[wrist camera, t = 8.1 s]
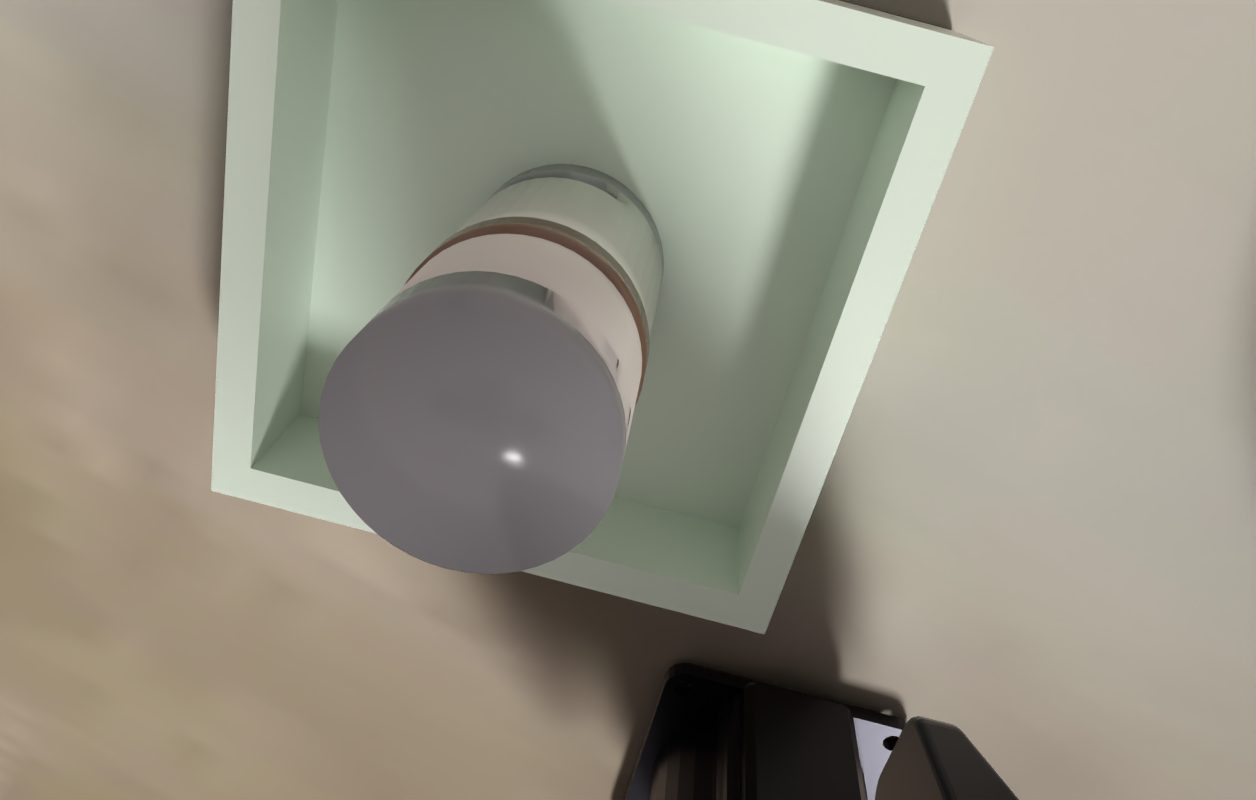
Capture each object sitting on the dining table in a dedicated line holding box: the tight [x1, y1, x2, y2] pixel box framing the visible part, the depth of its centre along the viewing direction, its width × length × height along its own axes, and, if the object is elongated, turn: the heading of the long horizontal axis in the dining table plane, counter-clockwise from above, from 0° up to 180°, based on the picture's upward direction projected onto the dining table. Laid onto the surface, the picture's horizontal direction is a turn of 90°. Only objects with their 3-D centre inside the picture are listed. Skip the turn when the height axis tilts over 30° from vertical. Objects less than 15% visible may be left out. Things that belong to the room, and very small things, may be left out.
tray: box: [211, 0, 994, 634], centre depth 19 cm, size 12×12×3 cm
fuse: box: [319, 164, 664, 574], centre depth 16 cm, size 4×4×8 cm
